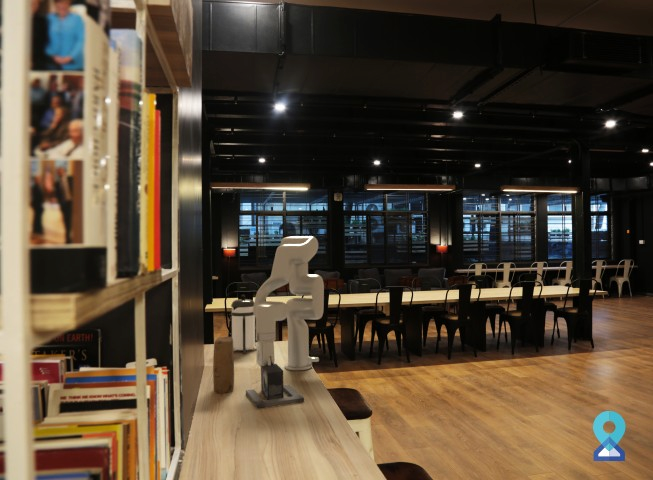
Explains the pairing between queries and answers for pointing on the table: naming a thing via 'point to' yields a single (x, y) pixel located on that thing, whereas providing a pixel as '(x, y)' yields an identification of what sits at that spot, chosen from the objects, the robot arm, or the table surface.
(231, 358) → the block
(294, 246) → the robot arm
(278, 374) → the small box
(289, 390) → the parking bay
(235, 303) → the coffee press
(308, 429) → the table surface
